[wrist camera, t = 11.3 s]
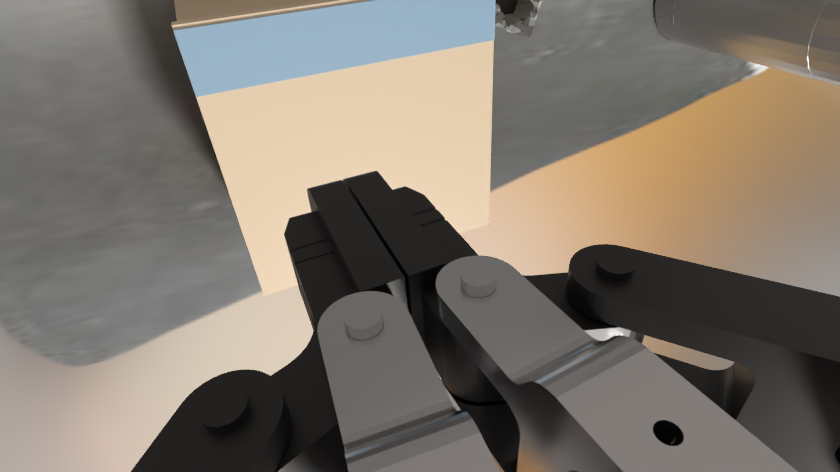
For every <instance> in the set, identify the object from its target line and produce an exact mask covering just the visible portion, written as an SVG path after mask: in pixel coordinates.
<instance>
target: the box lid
mask: <svg viewBox="0 0 840 472" xmlns="http://www.w3.org/2000/svg"><path fill="white" fill-rule="evenodd" d="M495 5H496V0H319V1H312V2H305V3H298V4H291V5H285V6H278V7H271V8H264V9H257V10H250V11H243V12H237V13H230V14H223V15H216V16H209V17H202V18H196V19H189V20H182V21H175V22H171V25H172V28H173V32H174V34H175V37H176V40H177V43H178V46H179V49H180V52H181V55H182V58H183V61H184V64H185V67H186V69H187V72H188V75H189V78H190V81H191V84H192V87H193V90H194V93H195V96H196V98H197V101H198V104H199V107H200V110H201V113H202V116H203V119H204V122H205V125H206V127H207V130H208V133H209V136H210V139H211V142H212V145H213V148H214V151H215V154H216V157H217V160H218V162H219V165H220V168H221V171H222V174H223V177H224V180H225V183H226V186H227V189H228V192H229V195H230V198H231V200H232V203H233V206H234V209H235V212H236V215H237V218H238V221H239V224H240V227H241V230H242V233H243V235H244V238H245V241H246V244H247V247H248V250H249V253H250V256H251V259H252V262H253V265H254V268H255V270H256V273H257V276H258V279H259V282H260V285H261V288H262V291H263V294H264V296H267V295H270V294H273V293H276V292H279V291H282V290H286V289H289V288H292V287H295V286H298V282H297V279H296V275H295V272H294V268H293V265H292V261H291V258H290V254H289V251H288V247H287V243H286V240H285V236H284V233H285V230H286V227H287V224H288V221H289V218H291V217H295V216H299V215H302V214H306V213H310V212H311V208H310V204H309V199H308V194H307V188H311V187H315V186H319V185H323V184H327V183H330V182H334V181H338V180H342V181H343V179H345V178H349V177H353V176H357V175H361V174H365V173H369V172H373V171H378V172H379V174H380V175H381V176H382V177H383V179H384V180H385V181H386V182H387V184H388V185H389V186H390V187H391V189H392V190H393V189H397V188H401V187H404V186H406V187H408V188H411V189H413V190H415V191H417V192H419V193H422V194H424V195H425V196H426V197H427V198H428V200H429V201H430V202H431V203H432V204H433V205H434V206H435V208H436V210H438V211H439V212H440V213H441V214H442V215H443V216H444V218H445V221H446V220H447V221H448V222H449V223H450V224H451V225H452V226H453V228H454V229H455V230H456V231H457V232H458V233H459V234H461V233H464V232H467V231H470V230H473V229H477V228H480V227H483V226H486V225H489V208H490V168H491V128H492V88H493V48H494V40H495Z"/></svg>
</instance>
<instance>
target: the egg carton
mask: <svg viewBox="0 0 840 472" xmlns="http://www.w3.org/2000/svg"><path fill="white" fill-rule="evenodd" d="M543 1H545V0H517V5H516V8H515V10H514V13H513V14H505V15H504V14H503V13H502V12H501V10H500V6H499V5H498V4H496V5H495V25H496V26H498V27H501V28H503V29H506V31H508V32H511V33H514V34H518V35H522V36H527V37H530V35H531V33H532V30H533V27H534V24H535V21H536V19H537V16H538V10H539V8H540V5H541V3H542V2H543Z"/></svg>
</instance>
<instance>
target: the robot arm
mask: <svg viewBox="0 0 840 472" xmlns="http://www.w3.org/2000/svg"><path fill="white" fill-rule="evenodd" d="M655 19H656V24H657V27H658V29H659V31H660V33H661V34H662V35H663V36H664V37H665V38H667V39H669V40H671V41H675V42H679V43H682V44H686V45H690V46H694V47H697V48H701V49H704V50H708V51H711V52H715V53H719V54H723V55H727V56H730V57H734V58H738V59H742V60H745V61H749V62H753V63H757V64H760V65H764V66H768V67H772V68H775V69H779V70H783V71H787V72H791V73H795V74H798V75H802V76H806V77H809V78H813V79H817V80H821V81H825V82H829V83H833V84H837V85H840V0H656V2H655ZM307 194H308V199H309V204H310V208H311V212H310V213H306V214H302V215H299V216H295V217H291V218H289V221H288V224H287V227H286V230H285V233H284V236H285V240H286V243H287V247H288V251H289V254H290V258H291V261H292V265H293V268H294V272H295V275H296V279H297V282H298V286H299V290H300V293H301V295H302V298H303V301H304V304H305V307H306V310H307V313H308V316H309V318H310V321H311V324H312V327H313V330H314V332H313V335H312V338H311V340H310V342H309V344H308V345H307V347H306V348H305V349H304V350H303V352H302V353H301V354H300V355H299V356H298V357H297V358H296V359H295V360H293V361H292V362H291V363H289V364H288V365H287V366H285V367H284V368H282V369H281V370H279V371H278V372H276V373H275V374H273V375H272V376H269V375H267V374H265V373H263V372H260V371H256V370H236V371H231V372H227V373H224V374H221V375H219V376H217V377H214V378H212V379H210V380H209V381H207V382H205V383H203V384H202V385H201V386H199V387H198V388H197V389H195V390H194V391H193V392H192V393H191V394H190V395H189V396H188V397H187V398H186V399H185V400H184V401H183V403H182V404H181V405H180V407H179V408H178V409H177V410H176V412H175V413H174V415H173V416H172V417H171V419H170V420H169V421H168V423H167V424H166V425H165V427H164V428H163V429H162V431H161V432H160V433H159V435H158V436H157V437H156V439H155V440H154V441H153V443H152V444H151V446H150V447H149V448H148V450H147V451H146V452H145V453H144V455H143V456H142V458H141V459H140V460H139V462H138V463H137V464H136V466H135V467H134V468H133V470H132V471H131V472H840V297H838V296H834V295H829V294H825V293H821V292H817V291H812V290H808V289H804V288H799V287H795V286H791V285H786V284H782V283H778V282H774V281H769V280H765V279H760V278H756V277H752V276H747V275H743V274H739V273H734V272H730V271H726V270H722V269H717V268H712V267H709V266H704V265H700V264H696V263H691V262H687V261H683V260H678V259H674V258H670V257H665V256H661V255H657V254H652V253H648V252H644V251H640V250H635V249H630V248H627V247H622V246H617V245H608V244H605V245H593V246H589V247H586V248H583V249H581V250H579V251H578V252H576V253H575V254H574V255H573V257H572V258H571V261H570V264H569V271H568V273H557V274H546V275H535V276H522V275H521V274H520V273H519V272H518V271H517V270H516V269H515V268H513V267H512V266H511V265H509V264H508V263H506V262H504V261H502V260H499V259H497V258H493V257H488V256H478V255H477V254H476V252H475V251H474V250H473V249H472V248H471V247H470V246H469V244H468V243H467V242H466V241H465V240H464V239H463V238H462V237H461V235H459V233H458V232H457V231H456V230H455V229H454V228H453V226H452V225H451V224H450V223H449V222H448V221H447V220H446V221H445V218H444V216H443V215H442V214H441V213H440V212H439V211H438V210H436V208H435V206H434V205H433V204H432V203H431V202H430V201H429V200H428V198H427V197H426V196H425V195H424V194H422V193H419V192H417V191H415V190H413V189H411V188H408V187H406V186H404V187H401V188H397V189H393V190H392V189H391V187H390V186H389V185H388V184H387V182H386V181H385V180H384V179H383V177H382V176H381V175H380V174H379V172H378V171H373V172H369V173H365V174H361V175H357V176H353V177H349V178H345V179H343V181H342V180H338V181H334V182H330V183H327V184H323V185H319V186H315V187H311V188H307ZM644 335H647V336H650V337H654V338H657V339H660V340H664V341H667V342H670V343H674V344H677V345H681V346H684V347H687V348H690V349H694V350H697V351H700V352H704V353H707V354H711V355H714V356H717V357H721V358H724V359H728V360H731V361H734V364H733V365H732V366H731V367H729V368H727V369H724V370H708V369H704V368H701V367H698V366H695V365H691V364H688V363H685V362H682V361H679V360H675V359H672V358H668V357H666V356H662V355H659V354H656V353H653V352H651V351H650V350H649V349H648V348H647V347H645V346H644V345H643V344H642V342H643V339H644ZM438 374H439V375H438ZM439 376H440V377H441V379H440V377H439Z"/></svg>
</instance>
